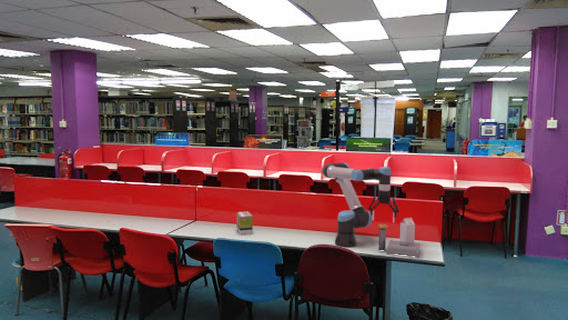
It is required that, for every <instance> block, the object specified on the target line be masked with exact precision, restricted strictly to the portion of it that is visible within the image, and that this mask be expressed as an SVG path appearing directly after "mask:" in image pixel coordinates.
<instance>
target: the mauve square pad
mask: <svg viewBox="0 0 568 320" xmlns="http://www.w3.org/2000/svg"><path fill="white" fill-rule="evenodd" d="M420 245H421V243H419V242H414V243H411V242H402V241H400V240H393V239H390V240H389V242H388V245H387V247H386V254H387V253H388V254H387V255H389V254H398V255H407V256H415V257H419V258H420V251H419V250H420V248H421V246H420Z"/></svg>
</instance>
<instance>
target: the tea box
mask: <svg viewBox="0 0 568 320" xmlns="http://www.w3.org/2000/svg"><path fill="white" fill-rule="evenodd" d="M253 219H254V218H253V215H252V214H251V212H249V211H239V212H237V211H236V230H237V232H238V233H239V235H240V236H244V235H246V236H247V235H252V234H253V233H254V232H253V231H254V230H253V223H254V221H253Z"/></svg>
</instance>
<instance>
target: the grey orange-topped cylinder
mask: <svg viewBox="0 0 568 320" xmlns="http://www.w3.org/2000/svg"><path fill="white" fill-rule="evenodd" d="M377 227H378V228H379V233H378V251H379V250H385V251H386V242H387V241H386V240H387V239H386V237H387V229H388V225H387V224H386V223H385V224H384V223H380V224H378V226H377Z"/></svg>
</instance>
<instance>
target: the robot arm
mask: <svg viewBox="0 0 568 320" xmlns="http://www.w3.org/2000/svg"><path fill="white" fill-rule="evenodd" d="M321 173H322V175H323V176H324V178H327V179H334V180H335V182H336V183H338V184H339V186H340V189H341V191H342V194H343V196H344V197H345V200H346V203H347V205H348V207H349V210H341V211H340V212H338V214H337V232H336V236H335V240H334V245H336V246H338V247H341V246H342V248H352V247H351V246H353V247H356V246H357V239H356V236H355V229H360V228H367V227H369V226H370V225H371V224H372V221H375V209H376V208H377V207H378V205H380V204H381V205H388V207H390V209H391V210H392V211H393V212H392V213H393V214H392V223H393V224H394V223H395V218H397V213H400V209H399V207H398V205H397V202H396V199H395V197H391V191H390V190H391V180H392V179H391V176H392V169H391V167H388V166H381V167H379V169H377V168H374V167H373V168H372V167H371V168H370V167H369V168H367V169H365V168H364V169H357V168H351V166H350V165H349V164H348V163H346V162H330V163H326V164H325V165H324V166H323V167H322V170H321ZM351 180H352V181H354V182H360V181H363V182H364V181H373V180H375V181H378V195H377V196H375V195H374V196H373V199H372V201H371V203H370V205H369V206H368V210H366V208H365V206H362V204H361V201H360V200H359V197H358V195H357V193H356V190H355V189H354V188H355V187H354V186H353V184H352V182H351ZM376 200H378V201H377V203H376V204H375V205H374V203H375V201H376ZM391 202H392V203H393V205H394V206H393V205H392V203H391ZM373 205H374V206H373ZM355 245H356V246H355Z"/></svg>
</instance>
